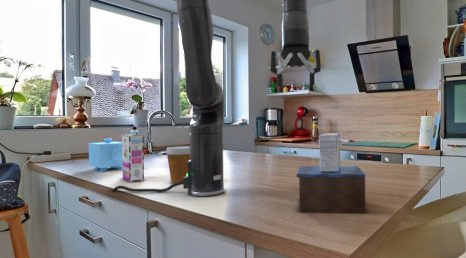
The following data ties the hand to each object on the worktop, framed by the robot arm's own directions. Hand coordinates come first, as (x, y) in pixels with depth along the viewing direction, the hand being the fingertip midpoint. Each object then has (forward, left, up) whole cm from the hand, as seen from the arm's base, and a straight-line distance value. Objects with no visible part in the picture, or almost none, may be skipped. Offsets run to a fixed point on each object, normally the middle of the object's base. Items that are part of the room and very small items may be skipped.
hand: (296, 87), depth 85 cm
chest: (+9, -13, -30) cm, 34 cm away
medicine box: (+9, -13, -22) cm, 27 cm away
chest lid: (+9, -13, -22) cm, 27 cm away
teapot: (-86, +39, -30) cm, 99 cm away
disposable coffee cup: (-41, +13, -30) cm, 53 cm away
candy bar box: (-61, +17, -30) cm, 70 cm away
